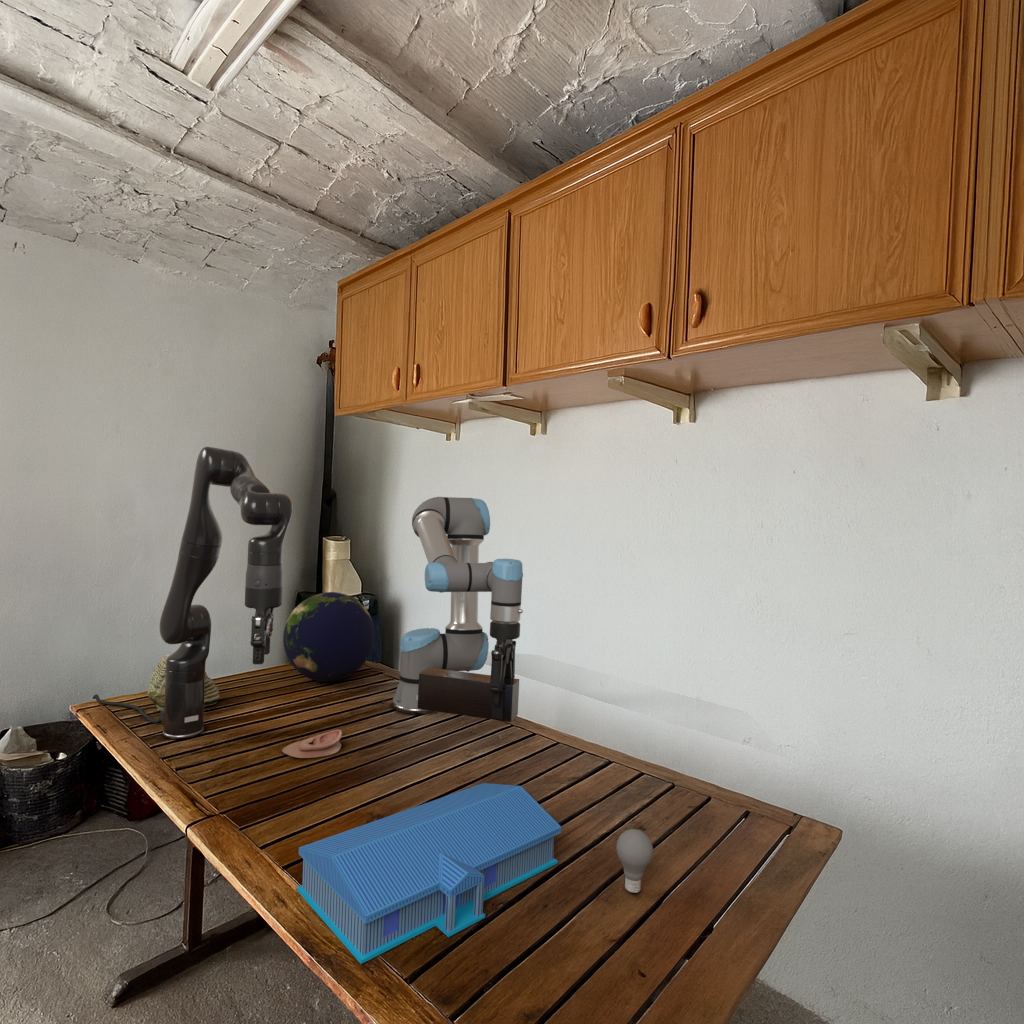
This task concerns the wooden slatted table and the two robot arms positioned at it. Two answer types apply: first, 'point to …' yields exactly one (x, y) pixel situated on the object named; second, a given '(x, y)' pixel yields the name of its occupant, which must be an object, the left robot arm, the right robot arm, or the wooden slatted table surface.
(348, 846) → the model building
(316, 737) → the anatomical model
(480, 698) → the box
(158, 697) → the fossil
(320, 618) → the globe
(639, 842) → the light bulb
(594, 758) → the wooden slatted table surface
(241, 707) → the wooden slatted table surface
